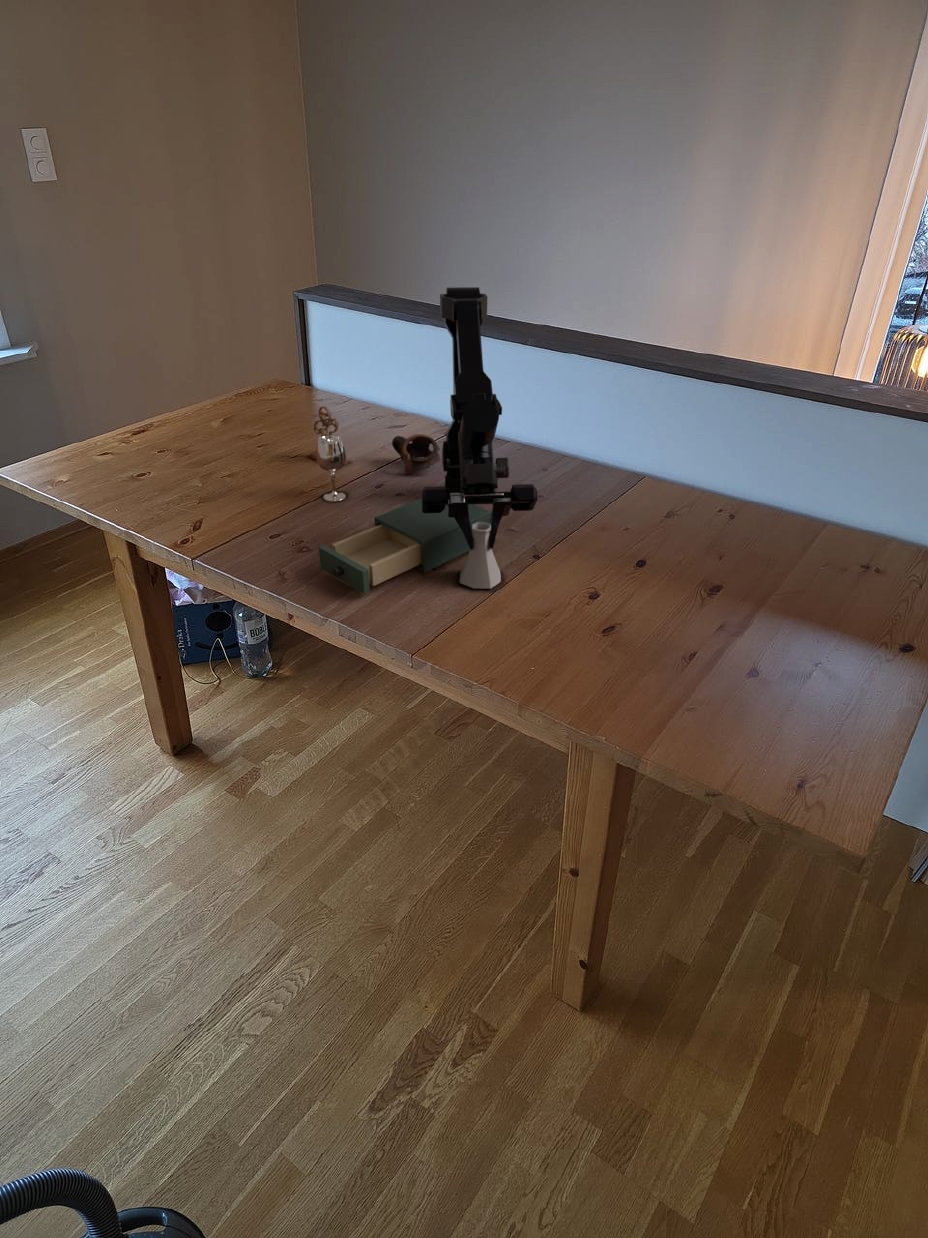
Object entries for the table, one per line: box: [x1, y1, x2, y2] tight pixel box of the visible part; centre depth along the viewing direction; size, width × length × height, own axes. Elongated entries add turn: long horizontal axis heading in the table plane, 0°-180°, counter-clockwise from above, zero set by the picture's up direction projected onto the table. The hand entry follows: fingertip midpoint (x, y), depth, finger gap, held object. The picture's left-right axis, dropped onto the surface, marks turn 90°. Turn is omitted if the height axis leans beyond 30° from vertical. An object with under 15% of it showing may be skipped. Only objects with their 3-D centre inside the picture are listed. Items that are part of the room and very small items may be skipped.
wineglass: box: [315, 435, 347, 502], centre depth 158 cm, size 6×6×12 cm
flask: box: [459, 522, 502, 590], centre depth 132 cm, size 7×7×10 cm
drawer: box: [317, 524, 422, 595], centre depth 135 cm, size 17×12×4 cm
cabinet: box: [373, 498, 491, 573], centre depth 144 cm, size 16×13×6 cm
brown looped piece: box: [309, 406, 349, 465], centre depth 175 cm, size 9×4×12 cm, turn 47°
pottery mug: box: [391, 433, 442, 475], centre depth 174 cm, size 12×10×8 cm
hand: (481, 548), depth 130 cm, fingers closed on flask, 3 cm apart
